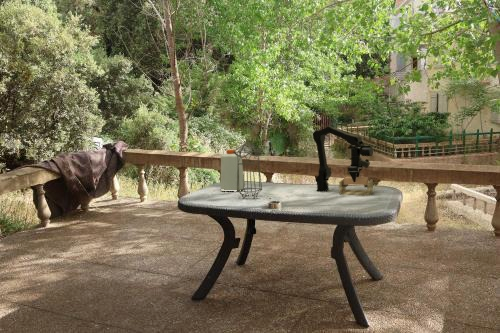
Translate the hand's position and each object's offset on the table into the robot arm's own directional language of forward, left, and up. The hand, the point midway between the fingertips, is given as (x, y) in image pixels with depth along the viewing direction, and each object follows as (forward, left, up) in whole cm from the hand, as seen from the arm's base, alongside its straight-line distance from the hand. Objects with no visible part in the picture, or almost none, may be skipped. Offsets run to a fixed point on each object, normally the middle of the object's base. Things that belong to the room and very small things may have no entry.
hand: (356, 180), depth 287 cm
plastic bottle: (-84, -4, -8) cm, 84 cm away
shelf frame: (0, 0, -8) cm, 8 cm away
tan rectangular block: (0, 0, -2) cm, 2 cm away
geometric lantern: (-62, -24, -8) cm, 67 cm away
